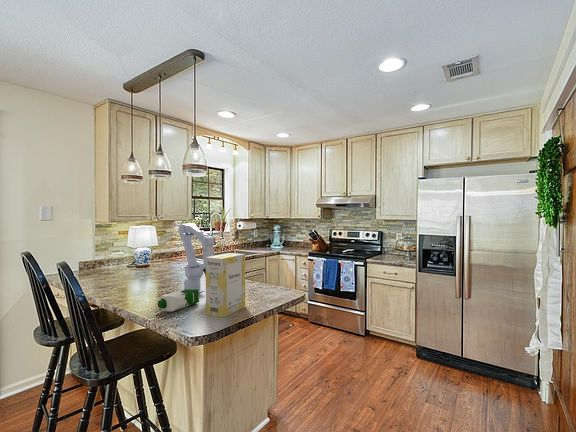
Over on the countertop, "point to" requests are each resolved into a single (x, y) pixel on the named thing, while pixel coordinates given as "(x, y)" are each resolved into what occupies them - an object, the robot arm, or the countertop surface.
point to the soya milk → (178, 300)
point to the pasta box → (225, 284)
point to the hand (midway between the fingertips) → (208, 279)
